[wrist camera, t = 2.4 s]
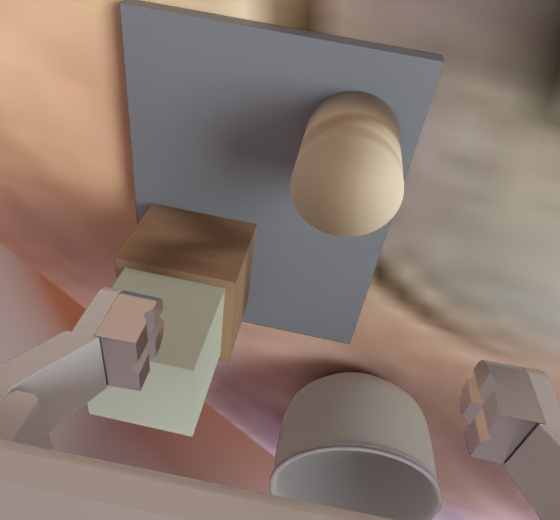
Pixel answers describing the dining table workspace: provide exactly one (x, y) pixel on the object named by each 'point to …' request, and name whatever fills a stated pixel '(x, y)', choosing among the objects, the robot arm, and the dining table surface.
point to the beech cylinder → (349, 166)
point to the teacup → (357, 449)
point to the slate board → (261, 144)
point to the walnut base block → (196, 257)
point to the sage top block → (171, 356)
